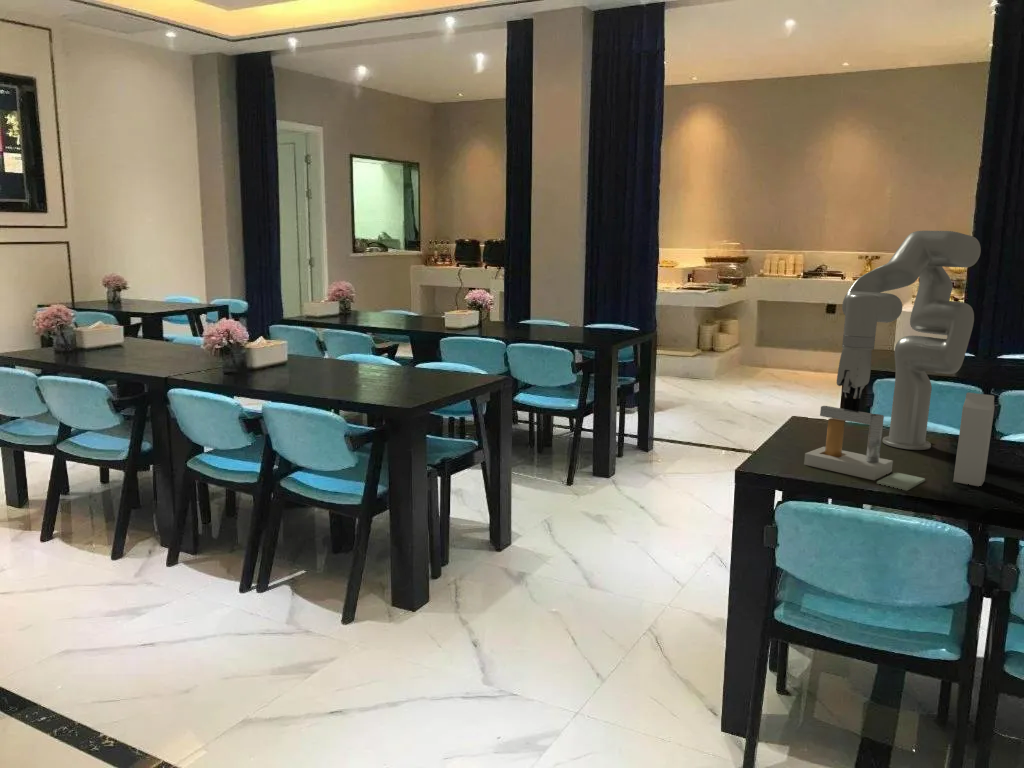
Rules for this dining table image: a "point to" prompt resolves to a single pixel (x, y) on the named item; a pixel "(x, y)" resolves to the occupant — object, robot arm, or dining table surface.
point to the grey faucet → (864, 418)
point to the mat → (901, 481)
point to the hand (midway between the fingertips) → (851, 412)
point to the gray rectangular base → (849, 464)
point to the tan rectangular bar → (834, 437)
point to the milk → (974, 439)
